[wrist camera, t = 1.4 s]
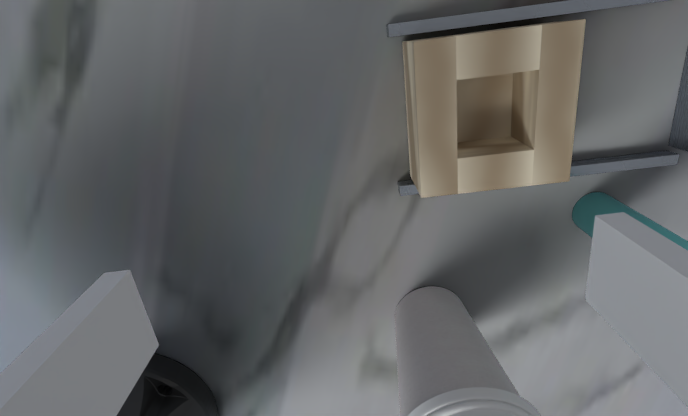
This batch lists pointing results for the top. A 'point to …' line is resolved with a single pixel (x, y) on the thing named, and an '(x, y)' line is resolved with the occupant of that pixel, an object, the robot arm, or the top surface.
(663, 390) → the top surface
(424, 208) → the top surface
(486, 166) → the block
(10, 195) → the top surface
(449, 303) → the coffee cup
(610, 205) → the dowel
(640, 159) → the backstop
